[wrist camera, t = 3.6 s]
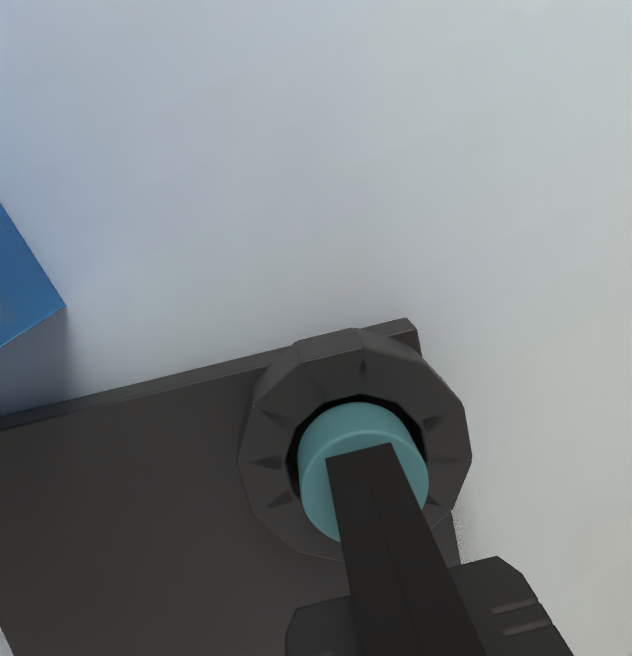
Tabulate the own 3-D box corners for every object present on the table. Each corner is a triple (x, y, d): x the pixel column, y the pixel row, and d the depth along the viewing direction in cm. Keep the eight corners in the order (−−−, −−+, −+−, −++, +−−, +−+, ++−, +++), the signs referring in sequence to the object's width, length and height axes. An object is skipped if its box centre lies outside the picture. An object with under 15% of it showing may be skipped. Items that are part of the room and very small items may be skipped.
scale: (-68, 417, 16) (-141, 470, 13) (418, 298, 16) (450, 325, 13) (79, 735, 20) (46, 832, 17) (480, 633, 20) (516, 712, 17)
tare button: (285, 416, 14) (286, 449, 12) (400, 388, 14) (417, 417, 13) (311, 516, 15) (317, 559, 13) (420, 489, 15) (439, 529, 13)
